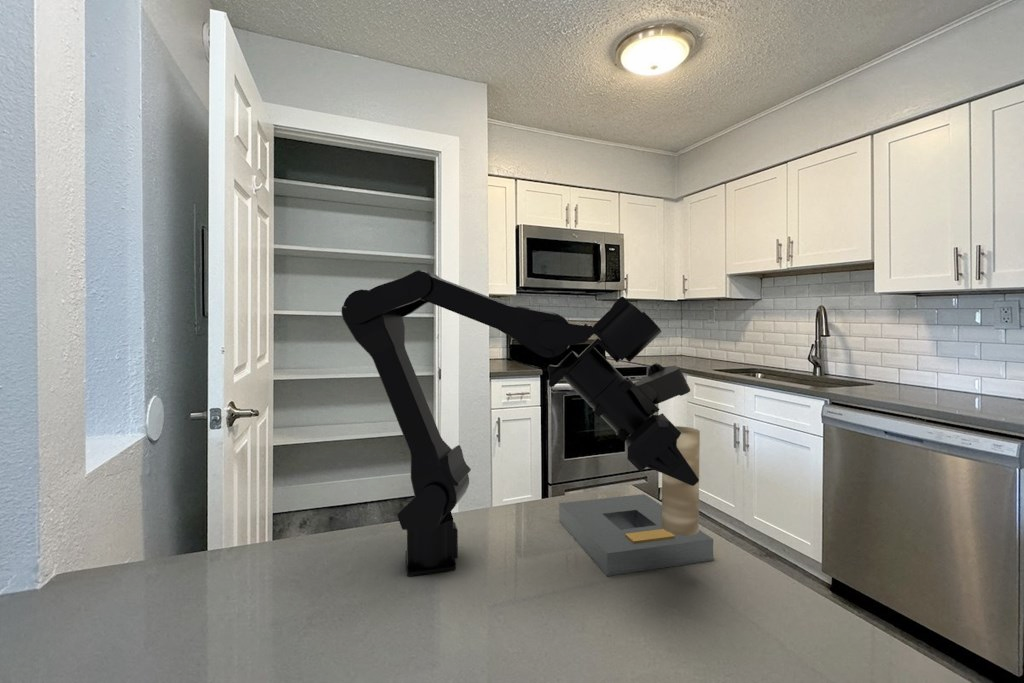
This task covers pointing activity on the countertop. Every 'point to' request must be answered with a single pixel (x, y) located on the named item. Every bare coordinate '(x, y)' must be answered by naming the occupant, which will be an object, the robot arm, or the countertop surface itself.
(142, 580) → the countertop surface
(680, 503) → the barrel peg
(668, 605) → the countertop surface
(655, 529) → the grey peg hole board
